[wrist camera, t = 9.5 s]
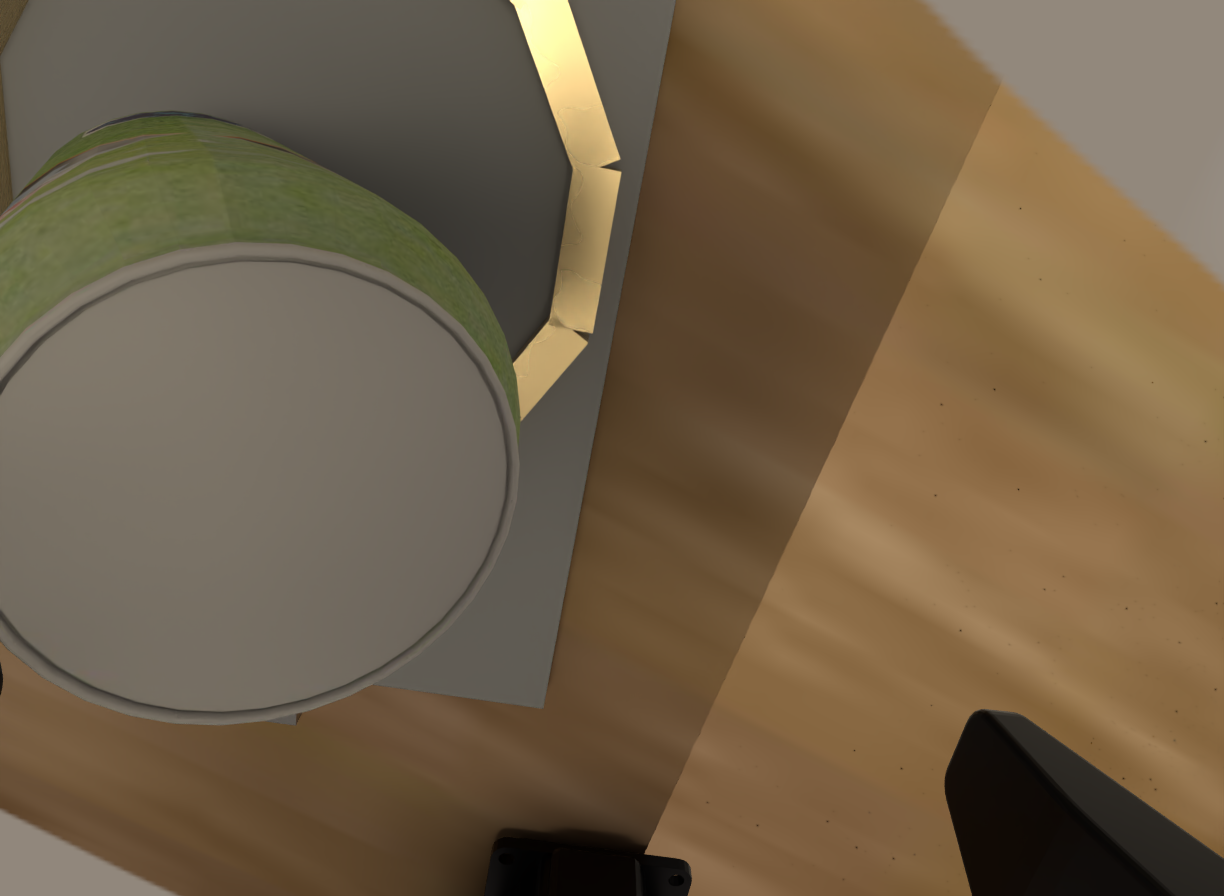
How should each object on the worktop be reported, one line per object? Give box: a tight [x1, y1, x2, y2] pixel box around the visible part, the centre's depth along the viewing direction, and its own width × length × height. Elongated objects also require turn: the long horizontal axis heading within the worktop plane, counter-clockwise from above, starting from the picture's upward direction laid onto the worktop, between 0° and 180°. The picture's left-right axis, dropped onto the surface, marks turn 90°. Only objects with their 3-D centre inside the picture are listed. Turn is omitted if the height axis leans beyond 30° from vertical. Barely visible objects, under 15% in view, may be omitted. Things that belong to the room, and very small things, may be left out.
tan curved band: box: [0, 0, 621, 725], centre depth 16 cm, size 23×14×3 cm, turn 170°
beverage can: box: [0, 110, 521, 725], centre depth 12 cm, size 6×7×12 cm
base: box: [0, 0, 676, 709], centre depth 18 cm, size 26×15×1 cm, turn 170°
